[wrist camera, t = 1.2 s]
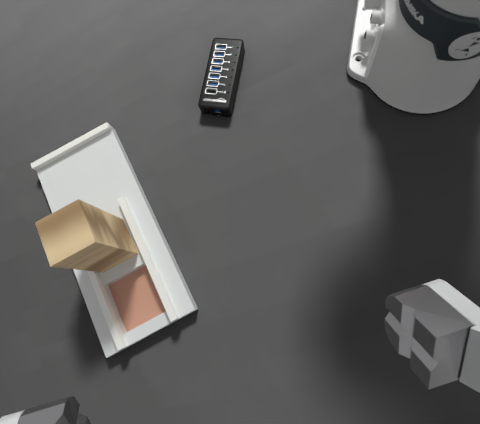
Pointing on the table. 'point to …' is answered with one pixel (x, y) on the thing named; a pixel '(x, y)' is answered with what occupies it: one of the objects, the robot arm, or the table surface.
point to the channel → (140, 229)
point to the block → (85, 238)
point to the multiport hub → (222, 77)
